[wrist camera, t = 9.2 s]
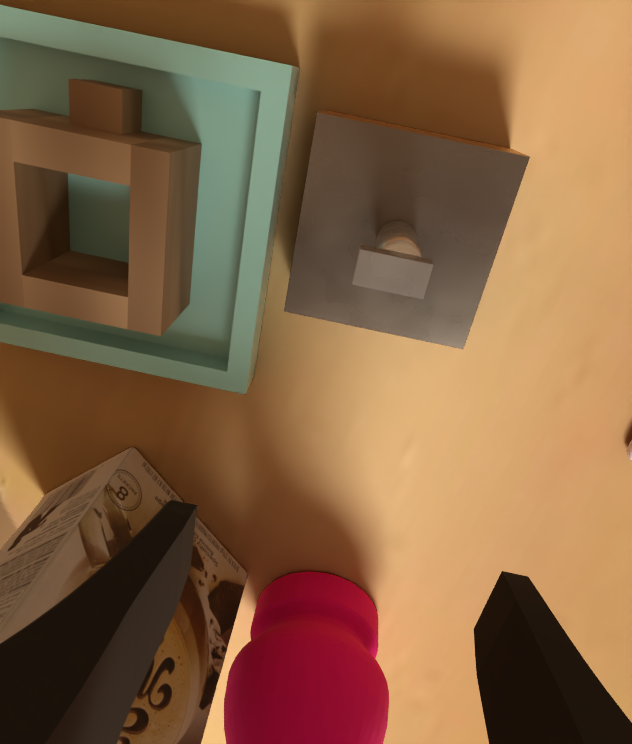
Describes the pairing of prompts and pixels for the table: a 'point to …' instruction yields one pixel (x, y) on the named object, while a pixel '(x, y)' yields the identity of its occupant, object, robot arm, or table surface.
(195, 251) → the tray
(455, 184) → the block
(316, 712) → the pepper mill
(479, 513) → the table surface
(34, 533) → the coffee box
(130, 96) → the ring
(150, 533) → the robot arm
